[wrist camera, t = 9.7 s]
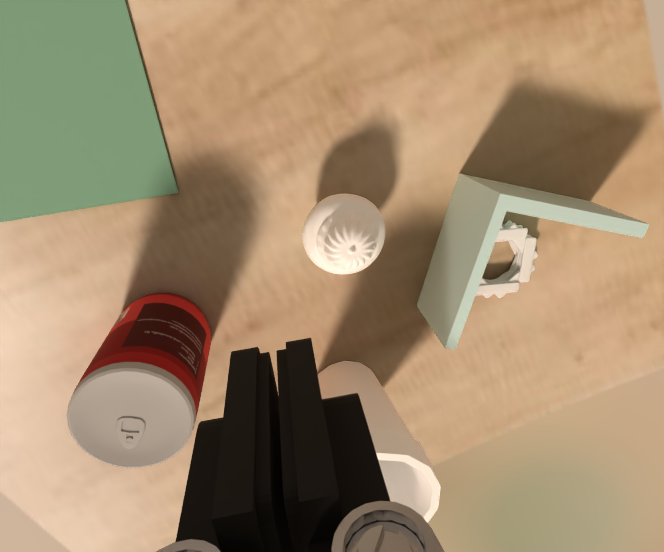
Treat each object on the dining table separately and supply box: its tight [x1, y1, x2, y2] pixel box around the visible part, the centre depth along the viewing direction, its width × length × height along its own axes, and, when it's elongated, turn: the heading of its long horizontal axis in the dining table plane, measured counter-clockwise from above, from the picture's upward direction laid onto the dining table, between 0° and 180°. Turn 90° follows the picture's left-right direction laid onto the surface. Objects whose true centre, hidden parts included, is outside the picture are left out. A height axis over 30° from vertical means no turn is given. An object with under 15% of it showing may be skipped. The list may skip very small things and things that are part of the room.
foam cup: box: [318, 361, 441, 523], centre depth 38 cm, size 10×9×13 cm
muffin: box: [303, 194, 385, 274], centre depth 34 cm, size 6×6×7 cm
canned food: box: [67, 293, 211, 468], centre depth 34 cm, size 8×8×11 cm
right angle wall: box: [417, 173, 650, 349], centre depth 37 cm, size 12×12×8 cm
